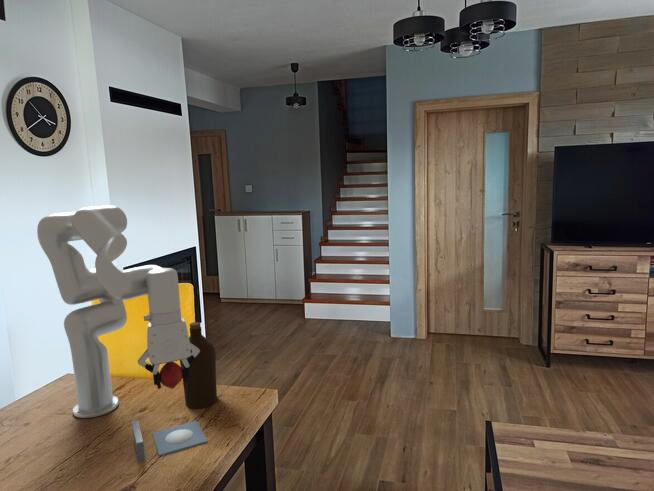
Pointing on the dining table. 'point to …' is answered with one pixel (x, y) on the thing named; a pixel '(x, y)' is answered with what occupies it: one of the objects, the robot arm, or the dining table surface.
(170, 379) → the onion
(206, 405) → the olive oil
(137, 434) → the low wall
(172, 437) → the mat
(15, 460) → the dining table surface
